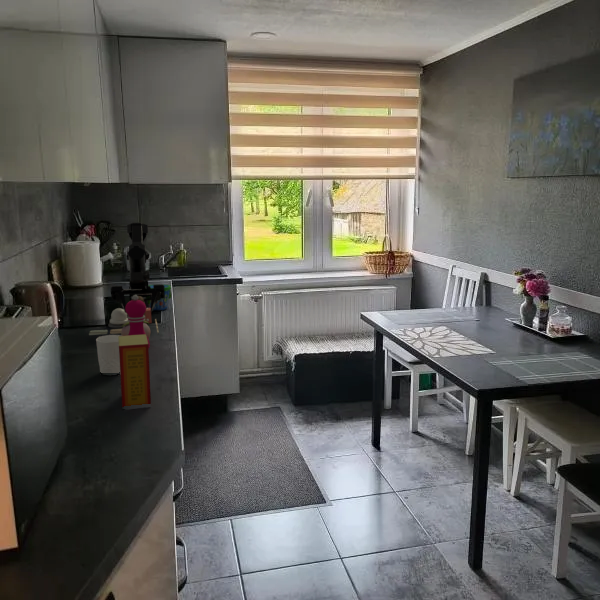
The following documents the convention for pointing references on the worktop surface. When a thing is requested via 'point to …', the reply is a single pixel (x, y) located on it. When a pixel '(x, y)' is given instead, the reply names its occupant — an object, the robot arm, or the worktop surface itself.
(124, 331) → the decorative fruit
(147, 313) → the die
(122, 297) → the robot arm
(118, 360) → the white cup
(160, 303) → the snack cup
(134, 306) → the pepper mill
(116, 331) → the game board
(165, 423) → the worktop surface
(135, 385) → the baking soda box
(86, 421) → the worktop surface
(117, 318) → the dome
